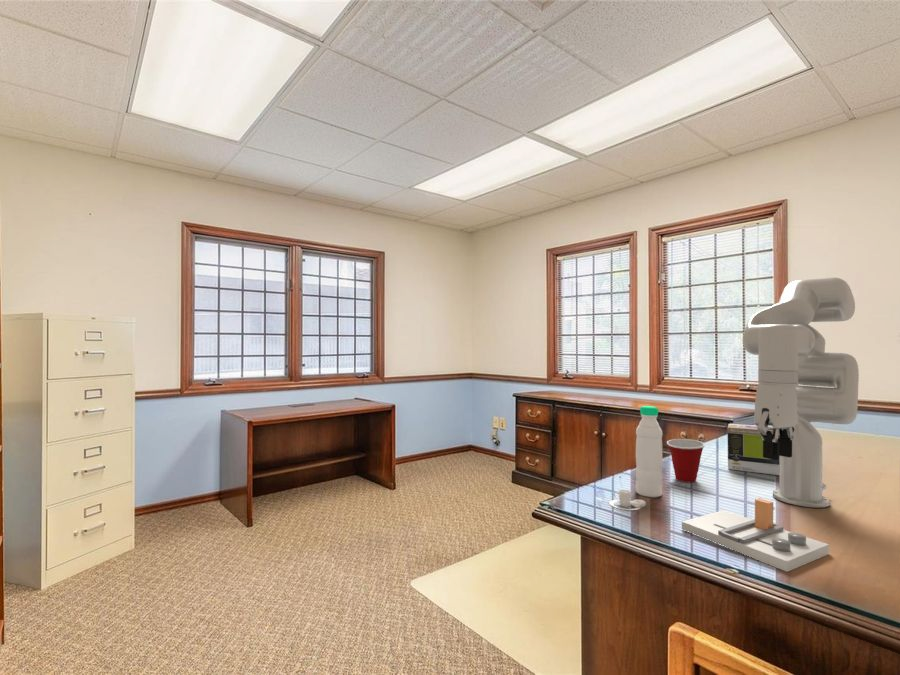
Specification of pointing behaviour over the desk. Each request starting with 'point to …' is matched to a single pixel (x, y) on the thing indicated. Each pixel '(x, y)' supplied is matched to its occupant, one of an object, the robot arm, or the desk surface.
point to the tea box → (748, 450)
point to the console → (757, 540)
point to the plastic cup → (685, 458)
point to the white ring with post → (627, 500)
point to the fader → (763, 513)
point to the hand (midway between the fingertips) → (777, 456)
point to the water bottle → (649, 454)
